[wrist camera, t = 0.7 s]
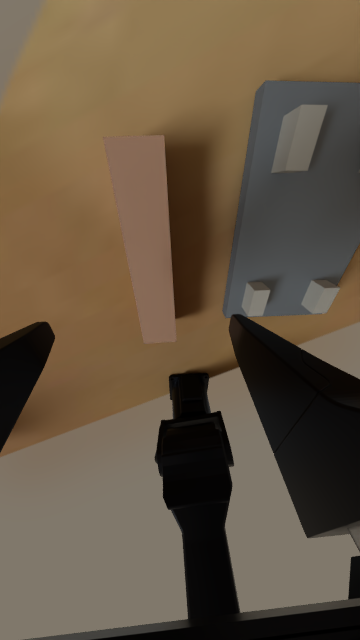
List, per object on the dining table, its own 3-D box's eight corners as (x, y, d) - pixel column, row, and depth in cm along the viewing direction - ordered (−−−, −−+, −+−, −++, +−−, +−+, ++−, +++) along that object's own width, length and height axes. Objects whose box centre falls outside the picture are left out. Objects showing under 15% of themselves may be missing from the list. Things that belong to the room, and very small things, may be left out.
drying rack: (313, 307, 24) (334, 323, 21) (222, 311, 23) (230, 328, 20) (417, 94, 13) (487, 68, 10) (256, 91, 13) (282, 61, 10)
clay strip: (174, 318, 23) (176, 341, 20) (147, 319, 23) (144, 343, 20) (164, 149, 14) (164, 134, 11) (119, 151, 14) (103, 137, 10)
